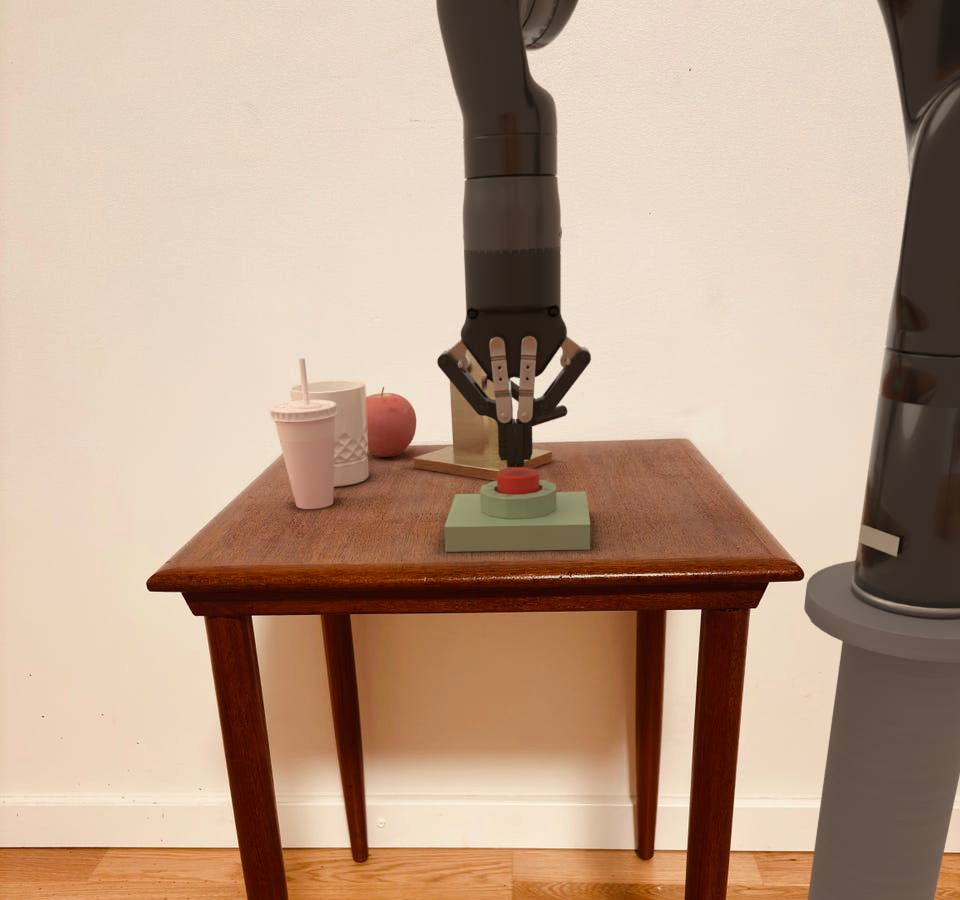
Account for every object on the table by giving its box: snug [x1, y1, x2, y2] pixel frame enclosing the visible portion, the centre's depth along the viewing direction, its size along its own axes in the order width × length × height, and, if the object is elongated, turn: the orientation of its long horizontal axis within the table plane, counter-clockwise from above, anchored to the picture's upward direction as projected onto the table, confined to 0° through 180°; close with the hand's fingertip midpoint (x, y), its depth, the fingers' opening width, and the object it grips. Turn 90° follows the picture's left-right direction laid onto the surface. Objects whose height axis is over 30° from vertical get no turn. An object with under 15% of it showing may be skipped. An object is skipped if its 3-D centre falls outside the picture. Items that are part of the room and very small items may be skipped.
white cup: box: [289, 379, 370, 488], centre depth 98 cm, size 8×8×10 cm
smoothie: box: [269, 357, 338, 510], centre depth 89 cm, size 6×6×14 cm
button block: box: [443, 479, 591, 553], centre depth 80 cm, size 12×10×4 cm
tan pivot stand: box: [412, 348, 553, 482], centre depth 101 cm, size 12×10×13 cm
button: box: [497, 468, 540, 495], centre depth 79 cm, size 4×4×2 cm
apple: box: [366, 386, 417, 458], centre depth 108 cm, size 7×7×8 cm
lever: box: [487, 375, 568, 427], centre depth 98 cm, size 12×6×2 cm, turn 52°
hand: (516, 464), depth 78 cm, fingers closed
